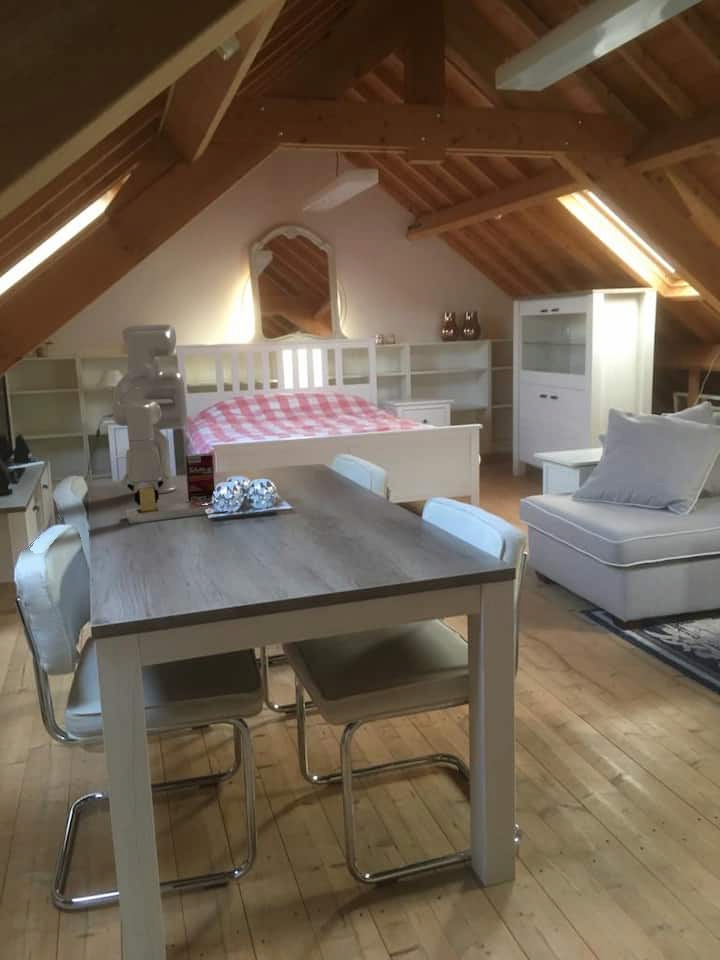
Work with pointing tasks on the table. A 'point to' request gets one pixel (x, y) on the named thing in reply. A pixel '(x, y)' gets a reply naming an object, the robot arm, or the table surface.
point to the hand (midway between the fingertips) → (147, 502)
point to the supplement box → (200, 476)
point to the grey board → (169, 511)
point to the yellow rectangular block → (147, 499)
